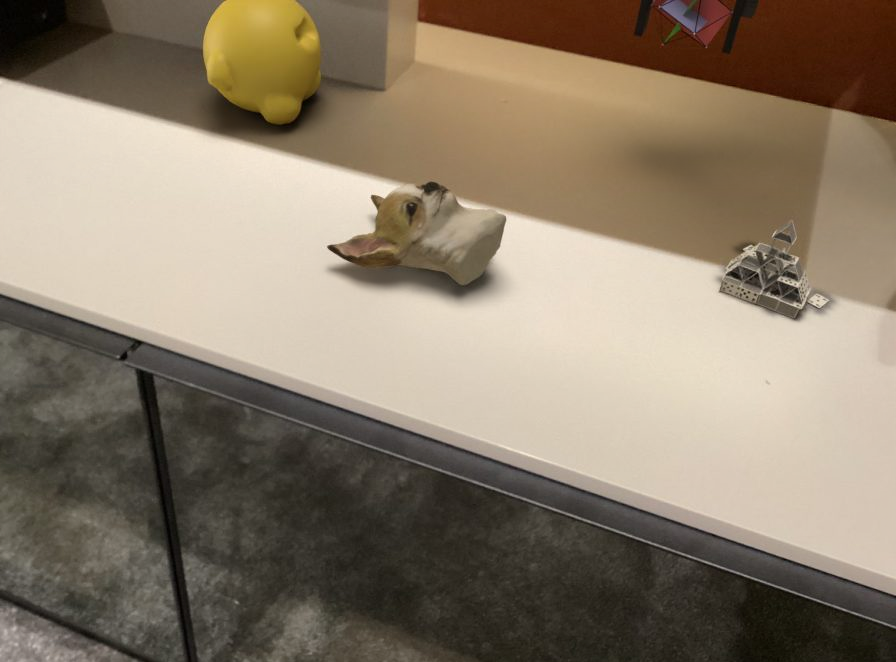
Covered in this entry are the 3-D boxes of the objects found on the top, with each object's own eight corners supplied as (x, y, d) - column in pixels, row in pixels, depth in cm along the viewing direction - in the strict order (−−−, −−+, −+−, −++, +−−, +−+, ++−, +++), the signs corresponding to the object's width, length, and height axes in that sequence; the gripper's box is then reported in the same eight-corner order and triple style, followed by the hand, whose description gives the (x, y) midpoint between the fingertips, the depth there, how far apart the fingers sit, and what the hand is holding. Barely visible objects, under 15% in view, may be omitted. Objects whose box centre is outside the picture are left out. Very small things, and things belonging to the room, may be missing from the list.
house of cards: (841, 277, 89) (873, 207, 83) (815, 328, 83) (847, 257, 78) (745, 243, 92) (770, 174, 87) (714, 290, 87) (738, 219, 81)
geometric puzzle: (754, 22, 92) (724, -59, 90) (728, 47, 88) (696, -37, 86) (687, 48, 97) (657, -28, 95) (659, 73, 93) (627, -5, 91)
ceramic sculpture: (485, 233, 77) (318, 194, 82) (480, 318, 83) (325, 277, 88) (527, 169, 84) (372, 137, 89) (520, 252, 90) (375, 218, 95)
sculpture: (313, 134, 100) (259, 10, 92) (215, 154, 106) (156, 39, 98) (359, 69, 110) (314, -48, 103) (267, 90, 116) (218, -19, 108)
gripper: (616, -240, 78) (570, 33, 94) (885, -207, 72) (788, 77, 88) (635, -258, 83) (589, 4, 99) (889, -229, 77) (797, 44, 93)
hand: (683, 38), depth 94 cm, fingers closed on geometric puzzle, 8 cm apart
